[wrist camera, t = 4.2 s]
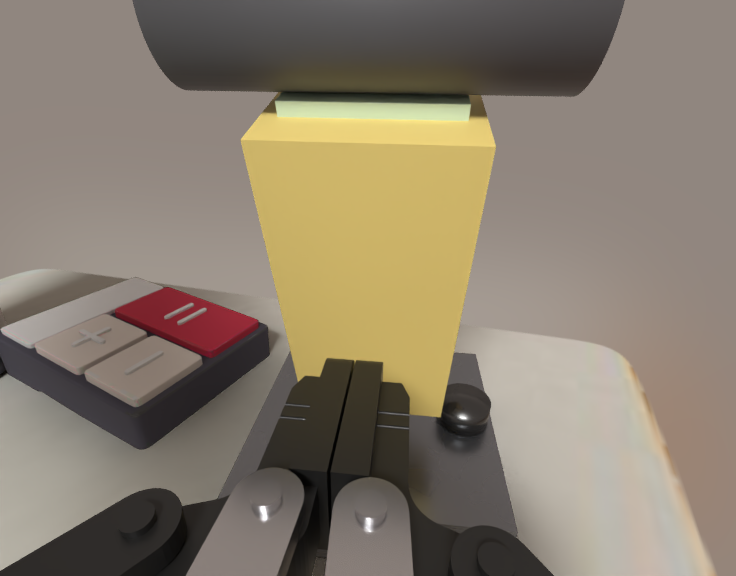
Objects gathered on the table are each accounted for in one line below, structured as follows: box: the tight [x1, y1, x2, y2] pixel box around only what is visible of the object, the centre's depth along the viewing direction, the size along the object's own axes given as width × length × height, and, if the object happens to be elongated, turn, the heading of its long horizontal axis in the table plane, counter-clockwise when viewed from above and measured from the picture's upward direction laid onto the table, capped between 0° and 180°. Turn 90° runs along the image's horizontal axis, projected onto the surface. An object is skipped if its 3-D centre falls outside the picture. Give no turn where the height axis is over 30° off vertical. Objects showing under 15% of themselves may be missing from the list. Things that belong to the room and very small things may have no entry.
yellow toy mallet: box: [133, 0, 625, 417], centre depth 15 cm, size 10×5×18 cm, turn 84°
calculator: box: [0, 277, 269, 449], centre depth 29 cm, size 11×4×15 cm
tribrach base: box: [218, 351, 518, 558], centre depth 22 cm, size 12×12×4 cm
